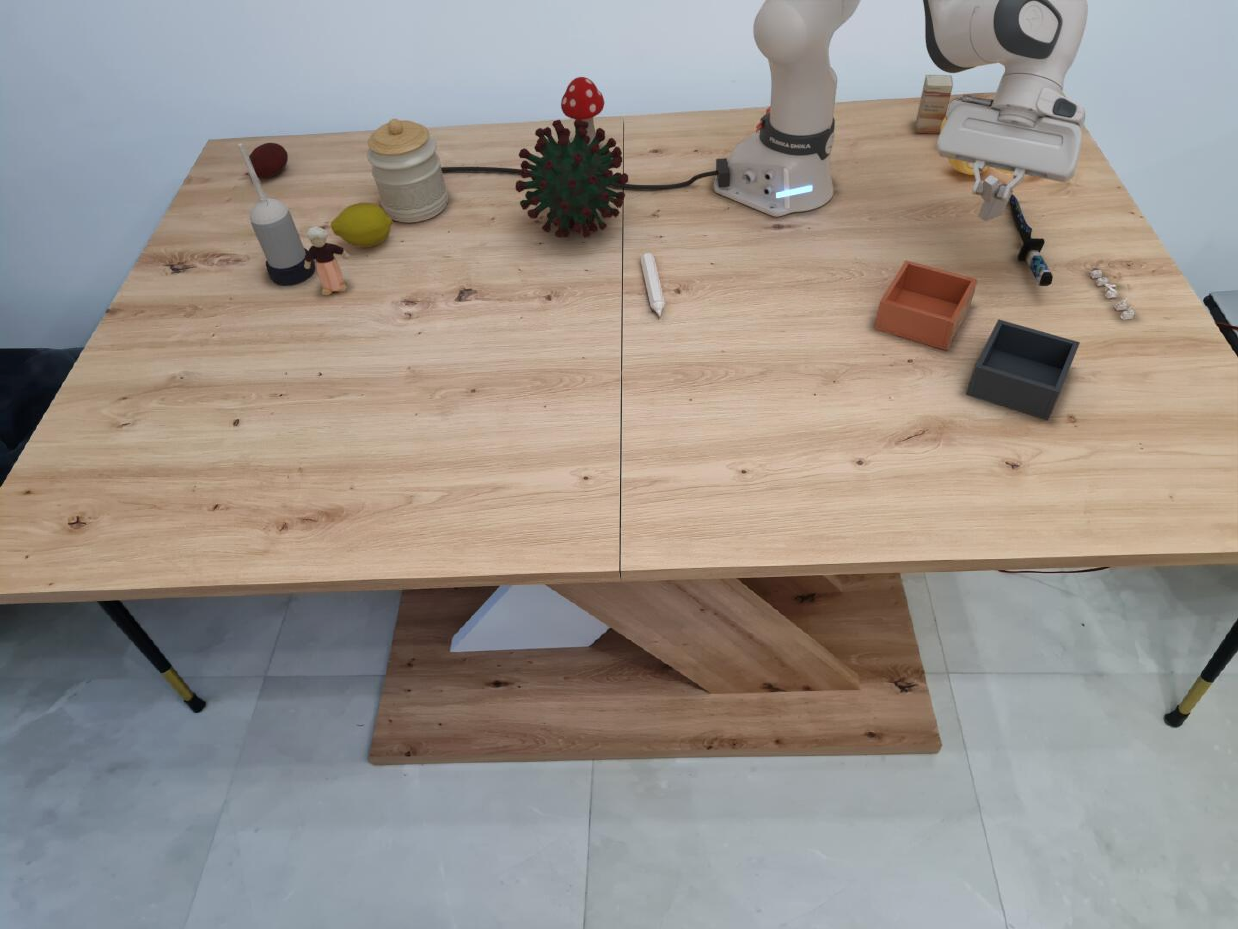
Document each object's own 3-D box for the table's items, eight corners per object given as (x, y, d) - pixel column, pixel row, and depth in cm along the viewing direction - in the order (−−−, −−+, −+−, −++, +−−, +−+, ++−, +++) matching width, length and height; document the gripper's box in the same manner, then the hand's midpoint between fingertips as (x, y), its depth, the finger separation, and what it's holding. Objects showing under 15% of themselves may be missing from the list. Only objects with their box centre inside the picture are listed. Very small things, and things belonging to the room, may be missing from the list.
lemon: (400, 228, 171) (389, 191, 165) (395, 253, 166) (383, 215, 160) (343, 233, 171) (330, 196, 165) (337, 258, 166) (323, 221, 160)
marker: (659, 324, 148) (646, 265, 159) (670, 318, 148) (656, 259, 158) (651, 315, 147) (637, 256, 157) (662, 308, 146) (648, 249, 156)
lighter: (993, 208, 143) (1015, 163, 136) (1002, 214, 142) (1024, 169, 136) (964, 221, 140) (984, 176, 133) (972, 227, 139) (993, 182, 133)
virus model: (531, 269, 159) (514, 167, 144) (516, 208, 173) (499, 108, 158) (642, 249, 161) (636, 146, 146) (619, 190, 174) (611, 89, 159)
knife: (1048, 300, 143) (1056, 275, 140) (1028, 299, 143) (1036, 274, 140) (1020, 209, 165) (1027, 186, 161) (1003, 208, 165) (1009, 185, 162)
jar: (370, 218, 174) (343, 132, 161) (405, 182, 182) (382, 98, 168) (428, 229, 170) (405, 142, 157) (461, 192, 178) (442, 106, 164)
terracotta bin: (874, 328, 143) (879, 300, 139) (899, 287, 149) (905, 259, 145) (946, 350, 139) (954, 322, 134) (970, 307, 145) (978, 279, 141)
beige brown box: (916, 133, 180) (925, 84, 173) (915, 122, 183) (924, 73, 176) (943, 134, 180) (953, 85, 172) (941, 123, 182) (952, 74, 175)
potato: (299, 167, 188) (290, 140, 184) (268, 188, 184) (257, 161, 179) (275, 159, 191) (264, 132, 187) (243, 179, 187) (231, 153, 182)
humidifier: (300, 252, 168) (250, 126, 149) (323, 270, 164) (275, 142, 145) (262, 273, 164) (205, 146, 146) (285, 291, 160) (230, 164, 141)
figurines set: (1088, 276, 148) (1093, 261, 146) (1104, 273, 148) (1110, 259, 146) (1123, 322, 140) (1129, 308, 138) (1141, 320, 140) (1148, 305, 138)
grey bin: (966, 394, 132) (974, 366, 128) (989, 347, 138) (998, 318, 134) (1048, 420, 128) (1059, 392, 124) (1068, 370, 134) (1080, 342, 130)
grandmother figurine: (319, 301, 158) (294, 240, 148) (313, 290, 160) (289, 229, 150) (361, 286, 160) (339, 225, 150) (355, 275, 162) (333, 214, 152)
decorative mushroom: (607, 162, 181) (601, 90, 170) (565, 165, 182) (556, 93, 170) (608, 137, 188) (603, 66, 177) (567, 139, 188) (559, 68, 177)
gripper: (952, 84, 135) (919, 175, 137) (1096, 110, 127) (1059, 206, 129) (955, 99, 141) (923, 186, 143) (1093, 125, 133) (1058, 217, 135)
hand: (989, 196), depth 136 cm, fingers closed on lighter, 2 cm apart
